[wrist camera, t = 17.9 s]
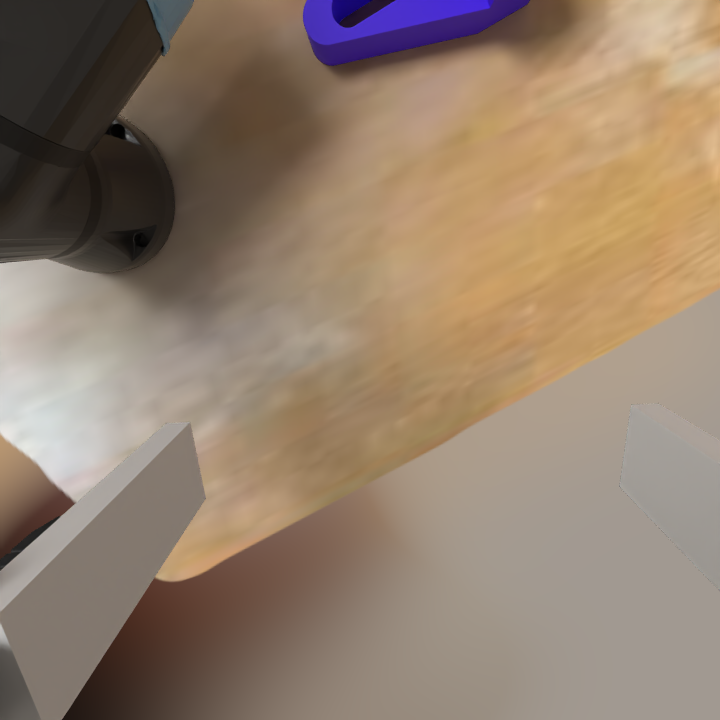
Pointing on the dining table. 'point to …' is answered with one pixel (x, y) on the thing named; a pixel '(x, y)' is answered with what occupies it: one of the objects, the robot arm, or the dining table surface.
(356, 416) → the dining table surface
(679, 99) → the dining table surface
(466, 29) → the bracket
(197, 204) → the dining table surface
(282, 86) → the dining table surface
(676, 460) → the robot arm
